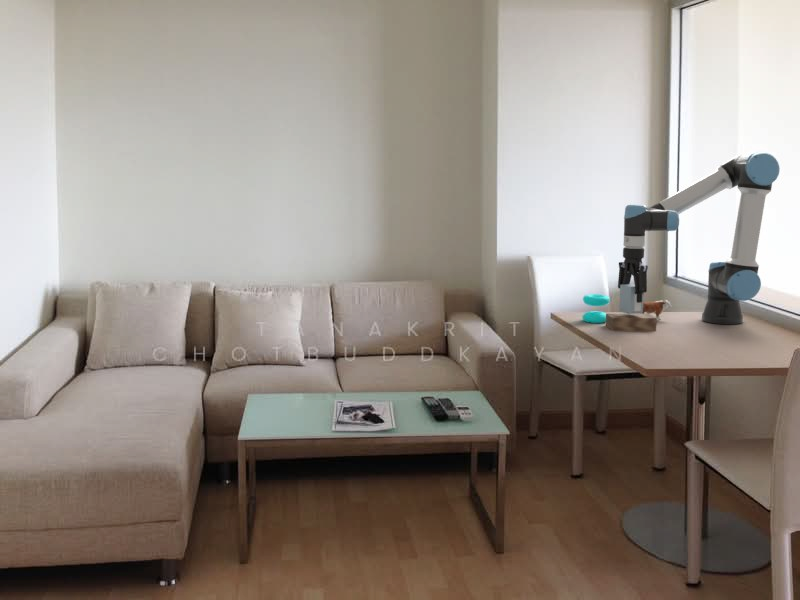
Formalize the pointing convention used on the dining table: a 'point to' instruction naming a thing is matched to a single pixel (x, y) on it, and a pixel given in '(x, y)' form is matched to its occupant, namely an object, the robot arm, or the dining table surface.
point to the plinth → (631, 322)
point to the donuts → (595, 301)
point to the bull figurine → (656, 307)
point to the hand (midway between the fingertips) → (631, 309)
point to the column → (628, 299)
